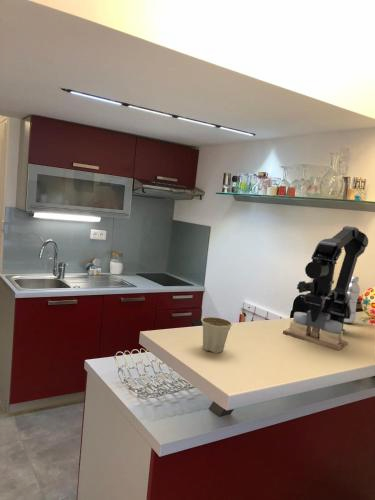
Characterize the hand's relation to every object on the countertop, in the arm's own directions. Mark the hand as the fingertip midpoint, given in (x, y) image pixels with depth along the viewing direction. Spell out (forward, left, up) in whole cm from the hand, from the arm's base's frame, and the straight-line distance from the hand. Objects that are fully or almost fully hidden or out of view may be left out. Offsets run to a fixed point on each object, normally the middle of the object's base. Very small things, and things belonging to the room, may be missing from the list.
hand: (317, 319), depth 145 cm
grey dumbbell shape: (0, 0, -2) cm, 2 cm away
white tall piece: (-36, +2, -7) cm, 37 cm away
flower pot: (+40, -18, -7) cm, 44 cm away
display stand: (0, 0, -7) cm, 7 cm away
